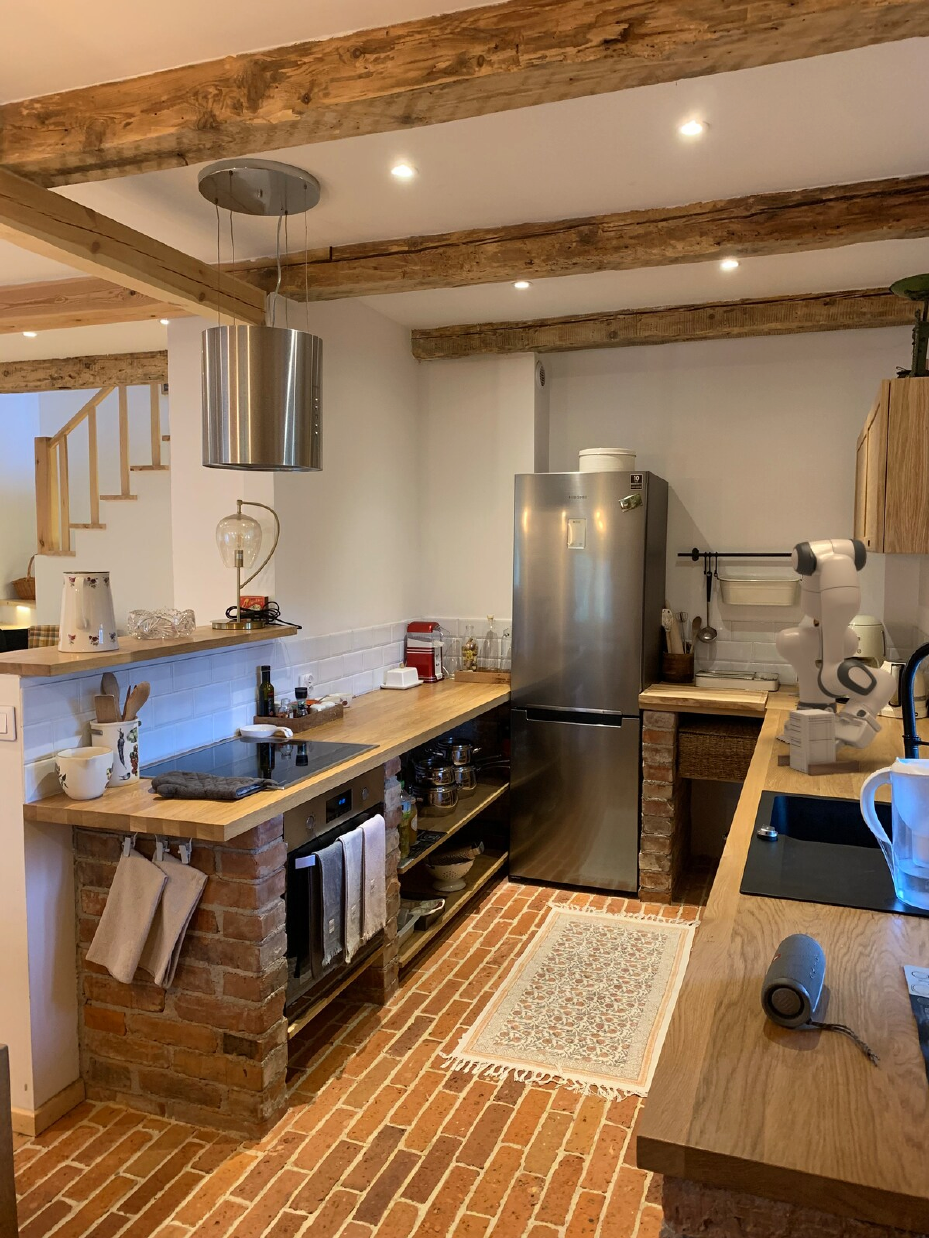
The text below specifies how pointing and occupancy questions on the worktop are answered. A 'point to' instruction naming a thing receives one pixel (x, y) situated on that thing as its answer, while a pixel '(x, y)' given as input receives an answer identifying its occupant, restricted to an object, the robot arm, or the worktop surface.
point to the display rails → (824, 766)
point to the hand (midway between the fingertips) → (827, 752)
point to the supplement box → (811, 738)
